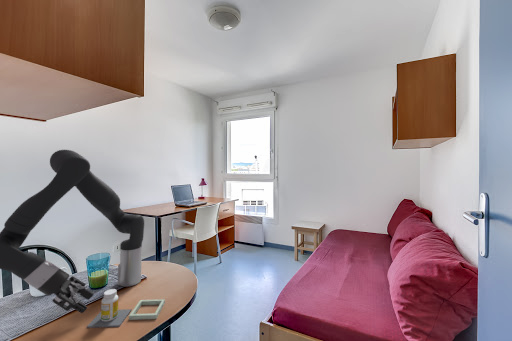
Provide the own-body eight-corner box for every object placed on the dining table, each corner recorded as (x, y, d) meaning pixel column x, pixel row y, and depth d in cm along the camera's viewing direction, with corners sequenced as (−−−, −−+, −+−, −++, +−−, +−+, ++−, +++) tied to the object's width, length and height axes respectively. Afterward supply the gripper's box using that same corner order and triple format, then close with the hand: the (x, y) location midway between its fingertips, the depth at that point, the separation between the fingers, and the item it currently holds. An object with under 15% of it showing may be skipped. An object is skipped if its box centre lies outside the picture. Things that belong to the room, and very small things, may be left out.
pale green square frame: (128, 319, 83) (128, 315, 83) (140, 303, 93) (140, 299, 93) (156, 318, 84) (156, 314, 84) (164, 302, 94) (164, 299, 94)
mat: (86, 327, 78) (86, 326, 78) (102, 311, 87) (102, 310, 87) (119, 326, 79) (119, 325, 79) (131, 310, 88) (131, 309, 88)
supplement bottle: (102, 324, 79) (102, 297, 79) (100, 316, 83) (100, 291, 83) (119, 317, 83) (119, 292, 83) (116, 310, 87) (116, 286, 87)
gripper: (49, 277, 70) (92, 305, 75) (64, 260, 83) (101, 285, 88) (26, 298, 68) (72, 325, 73) (45, 277, 80) (84, 301, 85)
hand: (88, 303), depth 80 cm, fingers open, 8 cm apart
